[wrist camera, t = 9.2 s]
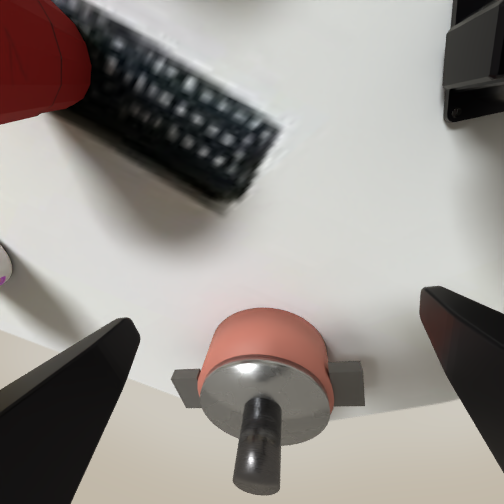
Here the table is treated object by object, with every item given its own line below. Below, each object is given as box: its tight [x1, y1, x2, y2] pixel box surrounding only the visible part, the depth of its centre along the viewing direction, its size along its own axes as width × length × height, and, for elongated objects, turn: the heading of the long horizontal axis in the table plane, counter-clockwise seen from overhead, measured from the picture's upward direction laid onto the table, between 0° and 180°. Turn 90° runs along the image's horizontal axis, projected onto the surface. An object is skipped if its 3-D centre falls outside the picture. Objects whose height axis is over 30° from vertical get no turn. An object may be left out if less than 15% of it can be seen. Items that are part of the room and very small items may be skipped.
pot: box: [171, 308, 365, 414], centre depth 25 cm, size 17×12×5 cm
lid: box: [200, 354, 330, 495], centre depth 20 cm, size 11×11×6 cm
